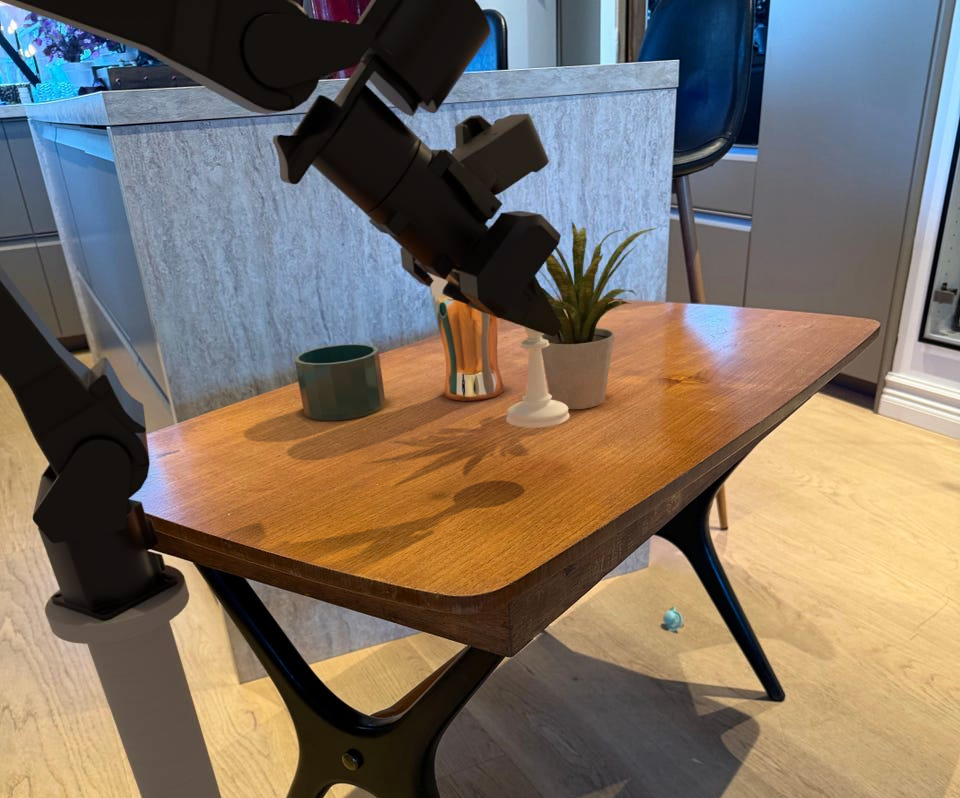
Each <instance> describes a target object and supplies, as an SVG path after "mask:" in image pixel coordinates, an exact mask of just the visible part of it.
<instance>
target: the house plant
mask: <svg viewBox="0 0 960 798" xmlns="http://www.w3.org/2000/svg"><path fill="white" fill-rule="evenodd" d="M656 229H658V227H654V228H648V229H643V230H640V231H638V232H635V233H633V234H631V235H630V236H628V237H627V238H625V240H623V242H621V243H620V244H619V245H618V246H617V248H616V249H615V250H614V252H613V253H612V254H611V256H610V257H609V259H608V261H607V263H606V265H605V267H604V268H603V271H602V272H601V275H600V277H599V280H598V282H597V284H596V286H595V281H596V275H597V273H598V270H599V264H600V262H601V261H602V260H603V256H604V253H602V246H603V243H604V241H605V240H607V238H608V237H610V236H611V235H613V234H615V233H618V232H621V231H623V230H625V229H618V230H614V231H612V232H610V233H608V234H607V235H606V236H605V237H604V238H603V239H602V240H601V242H600V243H599V244H597V245H596V246H595V248H594V250H593V253H592V257H591V261H590V264H589V266H588V267H587V269H586V270H585V272H584V263H585V254H586V248H587V247H586V246H587V240H588V237H587V229H586V227H585V226H584V227H582V228H581V229H580V230H579V231H578V229H577V227H576V225H575V223H574V222H573V221H571V230H572V247H571V248H572V249H571V253H572V268H573V276H572V273H571V270H570V268H569V266H568V263H567V260H566V259H565V257H564V255H563V254H562V252H561V250H560V249H559V248H558V246H557V247H556V248H555V250H554V251H555V252H556V253H557V255H558V257H559V260H561V263H562V265H563V266H562V265H561V263H560V262H559V260H558V259H557V257H556V256H555V255H554V254H553V253H552V254H551V255H550V256H549V258H548V259H547V260H546V262H545V266H546V270H547V272H548V273H549V275H550V277H551V279H552V280H553V282H554V283H555V285H556V288H557V289H558V291H559V294H560V296H559V295H558V293H557V292H556V290H555V288H554V286H553V285H552V283H551V282H550V281H549V279H548V278H547V277H546V275H545V274H544V273H543V272H542V270H541V269H540V270H539V271H538V273H540V274H541V275H542V276H543V277H544V279H545V280H546V282H547V283H548V284H549V286H550V287H551V289H552V290H553V292H554V294H555V295H556V297H557V300H556V299H555V298H554V297H553V296H552V295H551V294H550V293H549V292H548V291H547V290H546V289H545V288H543V286H541V288H542V289H543V291H544V293H545V295H546V296H547V298H548V300H549V302H550V303H551V305H552V307H553V309H554V311H555V312H556V314H557V316H558V318H559V319H560V321H561V323H562V327H561V329H560V330H559V332H558V333H557V334H556V335H555V336H554V337H552V336H549V335H546V334H543V333H542V335H541V337H543V338H542V339H546V340H548V343H549V346H548V347H545V348H542V349H541V350H542V358H543V366H544V373H545V379H546V384H547V389H548V394H550V395H552V398H551V400H556V401H559V402H562V403H564V404H565V405H567V407H568V410H583V409H590V408H593V407H597V406H599V405H602V404H603V403H604V402H605V399H606V394H607V386H608V381H609V373H610V366H611V360H612V353H613V348H614V341H615V340H614V339H615V333H614V332H613V331H612V330H610V329H606V328H600V327H597V325H598V322H599V321H600V320H601V318H602V317H603V316H604V315H605V314H606V313H608V312H609V311H611V310H613V309H615V308H617V307H621V306H622V305H627V304H628V305H632V303H630V302H628V301H626V300H624V299H623V298H615V297H617V296H619V295H621V294H622V293H624V292H630V293H633V295H635V296H636V297H638V295H637V294H636V292H635V291H634V290H633V289H623V288H615V289H611V290H610V291H609V292H607V293H606V294H605V295H604V296H603V297H602V298H601V295H602V294H603V292H604V290H605V288H606V286H607V283H608V282H609V281H610V278H611V277H612V276H613V274H614V273H615V272H616V270H618V268H619V266H620V265H621V264H622V263H623V261H624V259H626V257H627V256H628V255H629V254H630V253H631V252H632V251H634V249H635V248H636V247H637V245H639V244H636V245H635V246H633V247H632V248H631V249H630V250H628V251H627V252H626V253H625V254H624V255H623V256H622V257H621V258H620V260H618V259H619V257H620V256H621V255H622V253H623V252H624V251H625V250H626V248H627V247H629V245H631V244H632V243H633V241H635V240H636V239H637V238H638V237H639V236H641V235H643V234H645V233H649V232H651V231H654V230H656ZM617 261H618V262H617ZM616 262H617V264H616ZM615 264H616V265H615ZM614 265H615V266H614ZM563 267H564V268H563ZM600 298H601V299H600Z"/></svg>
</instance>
